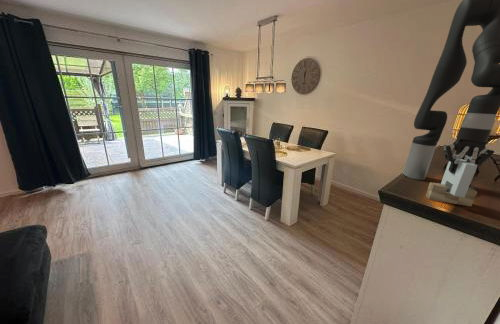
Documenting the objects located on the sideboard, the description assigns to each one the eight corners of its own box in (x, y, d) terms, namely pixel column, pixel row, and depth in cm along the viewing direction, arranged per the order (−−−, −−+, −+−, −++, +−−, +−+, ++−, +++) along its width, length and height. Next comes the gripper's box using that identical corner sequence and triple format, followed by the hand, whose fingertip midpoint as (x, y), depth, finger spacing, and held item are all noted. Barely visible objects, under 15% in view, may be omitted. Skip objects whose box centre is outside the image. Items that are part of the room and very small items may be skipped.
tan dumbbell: (425, 195, 82) (430, 182, 80) (466, 202, 78) (472, 188, 76) (428, 199, 79) (433, 185, 77) (471, 206, 75) (477, 191, 73)
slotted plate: (440, 185, 82) (450, 157, 78) (449, 187, 81) (460, 158, 77) (454, 195, 73) (466, 164, 69) (464, 197, 72) (477, 165, 68)
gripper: (494, 128, 71) (475, 173, 76) (445, 124, 75) (430, 167, 80) (512, 130, 64) (490, 180, 69) (456, 126, 69) (439, 173, 74)
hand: (458, 173), depth 75 cm, fingers closed on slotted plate, 3 cm apart
